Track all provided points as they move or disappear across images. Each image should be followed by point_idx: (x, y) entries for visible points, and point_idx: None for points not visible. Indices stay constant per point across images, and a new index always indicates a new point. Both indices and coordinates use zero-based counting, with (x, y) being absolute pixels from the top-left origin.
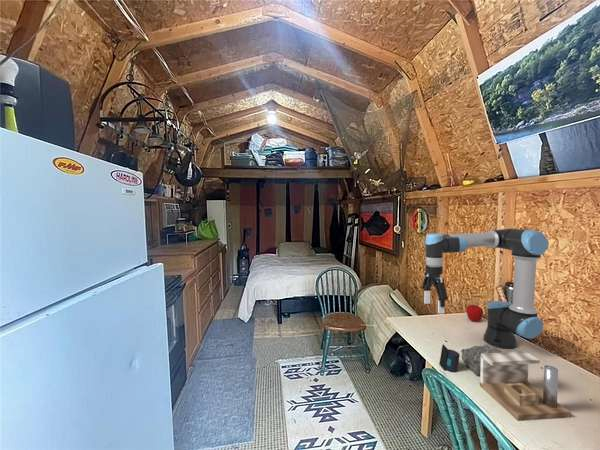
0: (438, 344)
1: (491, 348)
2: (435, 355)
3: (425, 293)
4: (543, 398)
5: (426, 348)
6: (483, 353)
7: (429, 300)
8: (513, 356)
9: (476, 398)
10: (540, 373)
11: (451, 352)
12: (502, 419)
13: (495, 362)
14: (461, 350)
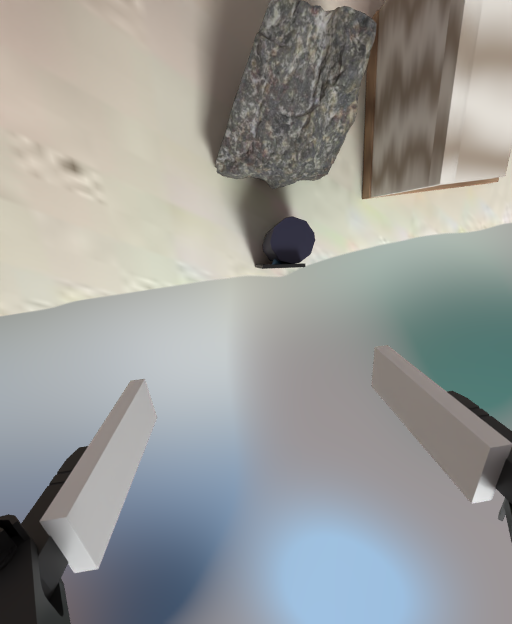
0: (113, 213)
1: (297, 39)
2: (201, 257)
3: (113, 524)
4: None
5: (155, 270)
6: (442, 170)
7: (136, 406)
8: (502, 18)
9: (404, 237)
10: None
11: (294, 247)
12: (472, 217)
13: (505, 160)
14: (223, 172)
